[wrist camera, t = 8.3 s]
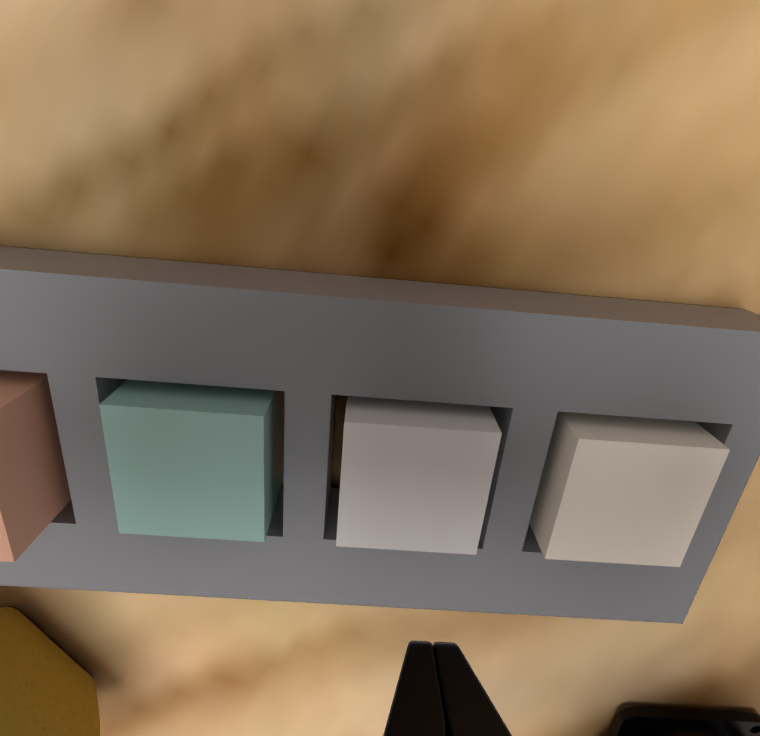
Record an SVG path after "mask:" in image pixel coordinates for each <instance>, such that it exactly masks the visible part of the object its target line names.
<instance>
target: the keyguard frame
mask: <svg viewBox="0 0 760 736" xmlns="http://www.w3.org/2000/svg"><path fill="white" fill-rule="evenodd" d="M0 370H7V371H21V372H34V373H47V377H48V382H49V387H50V392H51V397H52V403H53V408H54V413H55V418H56V423H57V428H58V433H59V439H60V444H61V449H62V454H63V459H64V464H65V469H66V475H67V480H68V485H69V490H70V495H71V500H70V502H69V503H68V504H67V505H66V506H65V507H64V508H63V509H62V510H61V511H60V513H59V514H58V515H57V516H56V517H55V518H54V519H53V520H52V521H51V522H50V523H49V525H48V526H47V527H46V528H45V529H44V530H43V531H42V532H41V533H40V534H39V536H38V537H37V538H36V539H35V540H34V541H33V542H32V543H31V544H30V545H29V547H28V548H27V549H26V550H25V551H24V552H23V553H22V554H21V555H20V556H19V558H18V559H17V560H16V561H15V562H3V561H0V585H2V586H20V587H38V588H56V589H74V590H92V591H109V592H127V593H145V594H163V595H181V596H199V597H217V598H234V599H252V600H270V601H288V602H306V603H324V604H342V605H360V606H377V607H395V608H413V609H431V610H449V611H467V612H485V613H502V614H520V615H538V616H556V617H574V618H592V619H610V620H628V621H645V622H663V623H681V624H683V621H684V619H685V617H686V615H687V613H688V610H689V608H690V606H691V604H692V602H693V599H694V597H695V595H696V593H697V591H698V589H699V586H700V584H701V582H702V580H703V578H704V575H705V573H706V571H707V569H708V567H709V565H710V562H711V560H712V558H713V556H714V554H715V551H716V549H717V547H718V545H719V543H720V540H721V538H722V536H723V534H724V532H725V530H726V527H727V525H728V523H729V521H730V519H731V516H732V514H733V512H734V510H735V508H736V505H737V503H738V501H739V499H740V497H741V495H742V492H743V490H744V488H745V486H746V484H747V481H748V479H749V477H750V475H751V473H752V471H753V468H754V466H755V464H756V462H757V460H758V457H759V455H760V315H758V314H755V313H753V312H750V311H747V310H745V309H738V308H726V307H715V306H703V305H691V304H679V303H667V302H656V301H644V300H632V299H620V298H609V297H597V296H585V295H573V294H561V293H550V292H538V291H526V290H514V289H502V288H491V287H479V286H467V285H455V284H443V283H432V282H420V281H408V280H396V279H385V278H373V277H361V276H349V275H337V274H326V273H314V272H302V271H290V270H278V269H267V268H255V267H243V266H231V265H220V264H208V263H196V262H184V261H172V260H161V259H149V258H137V257H125V256H113V255H102V254H90V253H78V252H66V251H54V250H43V249H31V248H19V247H7V246H0ZM128 379H129V380H142V381H156V382H169V383H183V384H196V385H209V386H223V387H236V388H250V389H263V390H277V391H285V417H284V485H282V484H281V488H280V491H279V494H278V498H277V501H276V505H275V508H274V511H273V515H272V518H271V522H270V525H269V528H268V532H267V535H266V539H265V542H254V541H238V540H221V539H205V538H189V537H172V536H156V535H139V534H123V533H119V531H118V524H117V517H116V511H115V504H114V498H113V491H112V485H111V478H110V472H109V465H108V459H107V452H106V446H105V439H104V433H103V426H102V419H101V413H100V406H99V404H100V403H101V402H103V401H104V400H105V399H106V398H107V397H108V396H110V395H111V394H112V393H113V392H114V391H115V390H117V389H118V388H119V387H120V386H121V385H122V384H123V383H125V382H126V381H127V380H128ZM336 395H344V396H358V397H371V398H384V399H398V400H411V401H425V402H438V403H452V404H465V405H479V406H489V407H490V409H491V411H492V414H493V416H494V418H495V420H496V422H497V424H498V426H499V428H500V430H501V433H502V435H501V440H500V444H499V449H498V454H497V458H496V463H495V468H494V473H493V477H492V482H491V487H490V491H489V496H488V501H487V506H486V510H485V515H484V520H483V524H482V529H481V534H480V539H479V543H478V548H477V553H476V555H470V554H454V553H438V552H421V551H405V550H388V549H372V548H356V547H339V546H336V538H337V523H338V508H339V493H340V488H331V472H332V455H333V438H334V421H335V403H336ZM558 411H559V412H573V413H586V414H600V415H613V416H627V417H640V418H654V419H667V420H681V421H694V422H696V423H697V424H699V425H700V426H701V427H702V428H704V429H705V430H706V431H707V432H709V433H710V434H711V435H712V436H714V437H715V438H716V439H717V440H719V441H720V442H721V443H722V444H724V445H725V446H726V447H727V448H729V449H730V451H729V453H728V456H727V458H726V460H725V463H724V465H723V467H722V470H721V472H720V475H719V477H718V479H717V482H716V484H715V486H714V489H713V491H712V493H711V496H710V498H709V500H708V503H707V505H706V507H705V510H704V512H703V514H702V517H701V519H700V521H699V524H698V526H697V528H696V531H695V533H694V535H693V538H692V540H691V542H690V545H689V547H688V549H687V552H686V554H685V556H684V559H683V561H682V563H681V566H680V567H669V566H652V565H636V564H620V563H603V562H587V561H571V560H554V559H545V558H544V556H543V554H542V551H541V549H540V547H539V544H538V542H537V540H536V537H535V535H534V533H533V530H532V528H531V526H530V523H529V522H530V518H531V514H532V510H533V506H534V502H535V498H536V494H537V491H538V487H539V483H540V479H541V475H542V471H543V467H544V463H545V460H546V456H547V452H548V448H549V444H550V440H551V436H552V432H553V429H554V425H555V421H556V417H557V413H558Z"/></svg>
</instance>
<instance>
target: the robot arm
mask: <svg viewBox="0 0 760 736" xmlns="http://www.w3.org/2000/svg"><path fill="white" fill-rule="evenodd" d="M383 736H512V735H511V733H510V732H509V730H508V728H507V727H506V725H505V723H504V722H503V720H502V718H501V717H500V715H499V713H498V712H497V710H496V708H495V707H494V705H493V703H492V702H491V700H490V698H489V697H488V695H487V693H486V692H485V690H484V688H483V687H482V685H481V683H480V682H479V680H478V678H477V677H476V675H475V673H474V672H473V670H472V668H471V666H470V665H469V663H468V661H467V660H466V658H465V656H464V655H463V653H462V651H461V650H460V648H459V647H458V646H457V645H456V644H455V643H449V642H435V643H433V645H432V643H430V642H428V641H410V642H409V644H408V647H407V650H406V654H405V658H404V661H403V665H402V669H401V672H400V676H399V680H398V683H397V687H396V691H395V694H394V698H393V702H392V706H391V709H390V713H389V717H388V720H387V724H386V728H385V731H384V735H383ZM609 736H760V715H759V714H757V713H748V712H727V711H706V710H685V709H665V708H644V707H627V708H624V709H622V710H621V711H620V712H619V713H618V715H617V717H616V719H615V722H614V724H613V726H612V729H611V731H610V733H609Z"/></svg>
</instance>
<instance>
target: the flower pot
mask: <svg viewBox="0 0 760 736" xmlns="http://www.w3.org/2000/svg"><path fill="white" fill-rule="evenodd" d="M0 736H100V720H99V708H98V700H97V694H96V688H95V683H94V680H93V678H92V677H91V676H90V675H89V674H88V673H87V672H86V671H85V670H84V669H82V668H81V667H80V666H79V665H78V664H77V663H76V662H75V661H73V660H72V659H71V658H70V657H69V656H68V655H67V654H66V653H65V652H64V651H62V650H61V649H60V648H59V647H58V646H57V645H56V644H55V643H53V642H52V641H51V640H50V639H49V638H48V637H47V636H46V635H45V634H44V633H43V632H42V631H41V630H40V629H38V628H37V627H36V626H35V625H34V624H33V623H32V622H31V621H30V620H29V619H27V618H26V617H25V616H24V615H23V614H22V613H20V612H19V611H18V610H16V609H14V608H12V607H1V608H0Z"/></svg>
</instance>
